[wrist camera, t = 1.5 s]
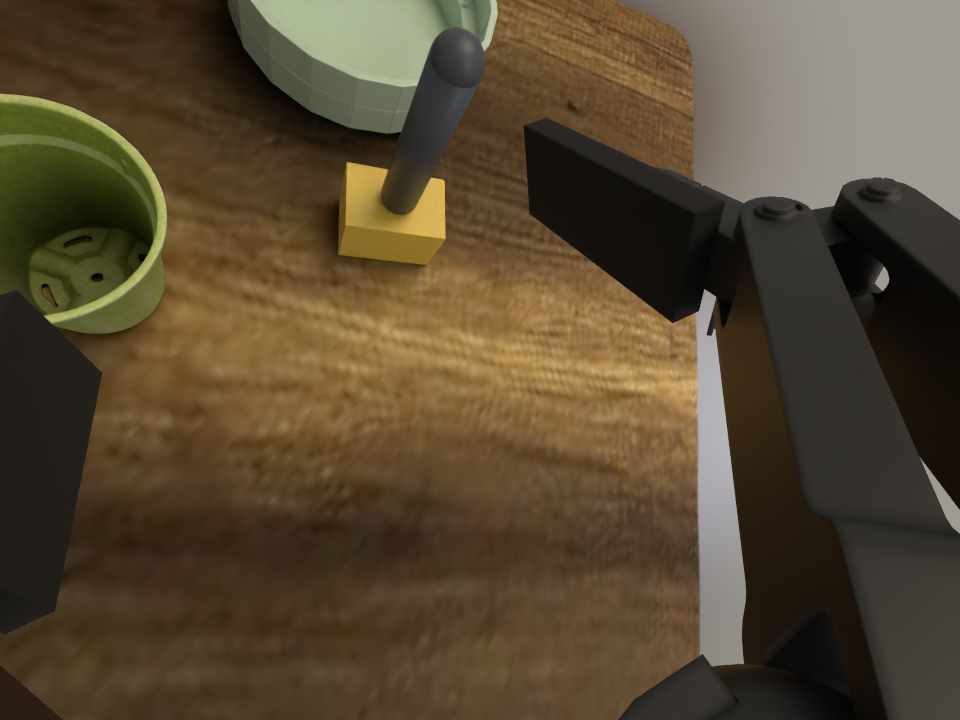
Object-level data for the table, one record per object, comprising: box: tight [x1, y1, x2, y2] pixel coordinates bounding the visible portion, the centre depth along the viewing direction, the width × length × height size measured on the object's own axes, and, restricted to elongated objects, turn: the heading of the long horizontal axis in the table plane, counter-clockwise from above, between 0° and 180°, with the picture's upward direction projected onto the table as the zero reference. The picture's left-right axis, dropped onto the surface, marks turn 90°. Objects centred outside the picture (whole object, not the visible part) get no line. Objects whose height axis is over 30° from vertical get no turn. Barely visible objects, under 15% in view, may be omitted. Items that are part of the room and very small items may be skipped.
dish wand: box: [338, 27, 485, 265], centre depth 25 cm, size 6×4×17 cm, turn 92°
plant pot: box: [0, 94, 167, 334], centre depth 22 cm, size 9×9×9 cm
